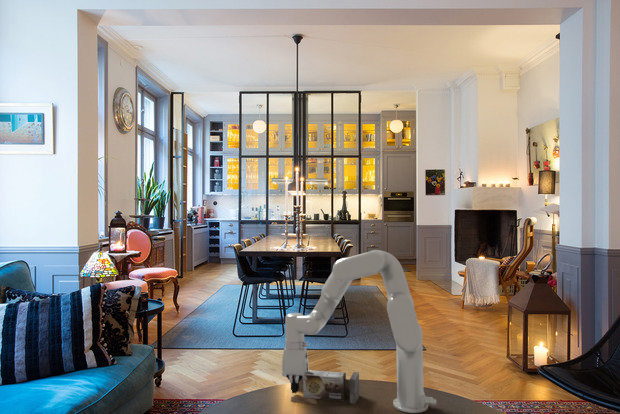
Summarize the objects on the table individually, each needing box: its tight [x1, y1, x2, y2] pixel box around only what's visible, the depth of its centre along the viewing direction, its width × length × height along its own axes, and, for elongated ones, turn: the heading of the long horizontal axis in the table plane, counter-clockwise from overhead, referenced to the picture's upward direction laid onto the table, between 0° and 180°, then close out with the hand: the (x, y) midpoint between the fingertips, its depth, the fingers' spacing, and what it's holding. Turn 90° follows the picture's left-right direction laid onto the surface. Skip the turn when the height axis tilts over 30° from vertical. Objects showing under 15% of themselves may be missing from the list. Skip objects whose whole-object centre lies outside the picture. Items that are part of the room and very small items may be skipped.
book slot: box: [290, 371, 360, 405], centre depth 163 cm, size 27×13×9 cm, turn 73°
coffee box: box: [302, 369, 347, 402], centre depth 164 cm, size 9×6×16 cm
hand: (295, 392), depth 165 cm, fingers closed
